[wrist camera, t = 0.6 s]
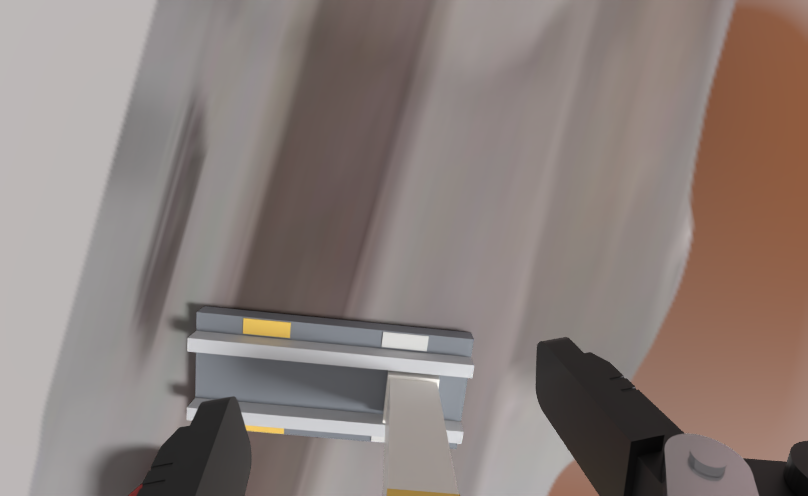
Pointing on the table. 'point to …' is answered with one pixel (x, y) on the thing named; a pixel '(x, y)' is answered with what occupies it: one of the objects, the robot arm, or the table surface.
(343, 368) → the switch plate
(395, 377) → the switch tab
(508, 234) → the table surface
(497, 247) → the table surface
